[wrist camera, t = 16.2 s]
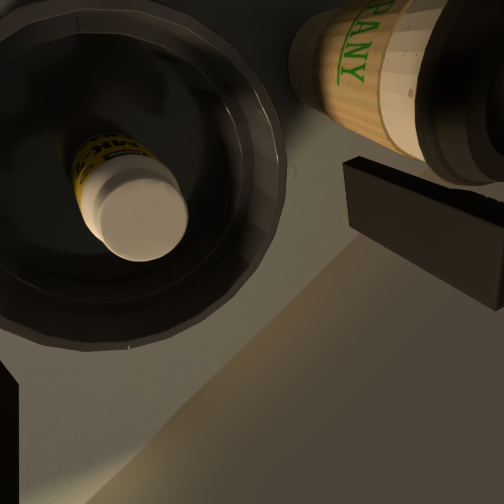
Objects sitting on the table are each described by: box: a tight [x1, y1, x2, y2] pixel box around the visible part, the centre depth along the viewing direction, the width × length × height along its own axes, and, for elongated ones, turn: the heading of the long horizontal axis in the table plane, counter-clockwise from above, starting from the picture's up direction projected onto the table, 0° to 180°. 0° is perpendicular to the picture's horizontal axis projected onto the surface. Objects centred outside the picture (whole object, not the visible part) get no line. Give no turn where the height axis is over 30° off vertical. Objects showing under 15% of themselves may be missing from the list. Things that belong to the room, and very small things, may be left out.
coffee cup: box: [288, 0, 504, 186], centre depth 24 cm, size 10×10×15 cm
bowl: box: [0, 0, 287, 352], centre depth 23 cm, size 17×17×6 cm
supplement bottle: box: [69, 133, 188, 261], centre depth 22 cm, size 5×5×8 cm
